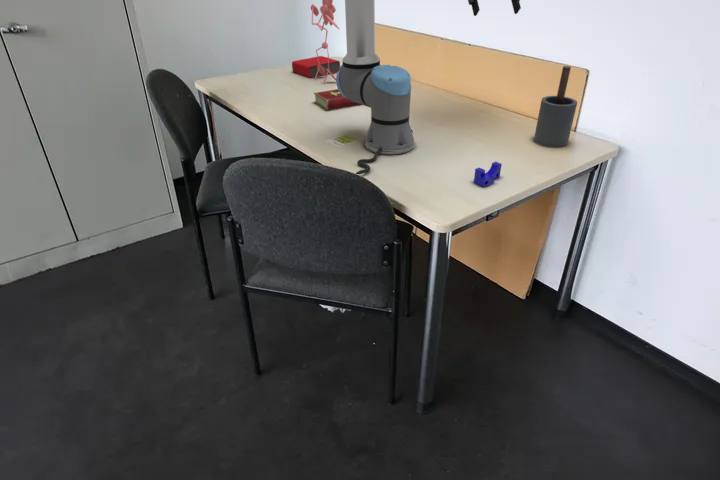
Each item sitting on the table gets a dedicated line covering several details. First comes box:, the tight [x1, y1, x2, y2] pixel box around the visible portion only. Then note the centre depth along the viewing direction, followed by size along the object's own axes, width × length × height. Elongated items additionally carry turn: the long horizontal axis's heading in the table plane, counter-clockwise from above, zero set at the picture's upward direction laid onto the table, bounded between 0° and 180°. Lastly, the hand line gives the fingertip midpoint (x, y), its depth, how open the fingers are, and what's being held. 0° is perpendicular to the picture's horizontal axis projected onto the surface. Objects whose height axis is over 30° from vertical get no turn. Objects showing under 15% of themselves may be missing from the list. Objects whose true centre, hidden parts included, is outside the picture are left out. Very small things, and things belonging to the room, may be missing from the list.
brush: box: [555, 65, 572, 105], centre depth 147 cm, size 4×4×22 cm
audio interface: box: [291, 55, 341, 78], centre depth 229 cm, size 18×14×5 cm
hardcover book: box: [313, 88, 363, 112], centre depth 189 cm, size 12×21×4 cm, turn 119°
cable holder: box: [473, 161, 502, 188], centre depth 129 cm, size 8×4×4 cm, turn 125°
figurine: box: [310, 0, 340, 84], centre depth 210 cm, size 15×26×35 cm, turn 29°
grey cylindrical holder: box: [533, 95, 578, 148], centre depth 150 cm, size 10×10×13 cm
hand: (497, 12), depth 148 cm, fingers open, 13 cm apart
